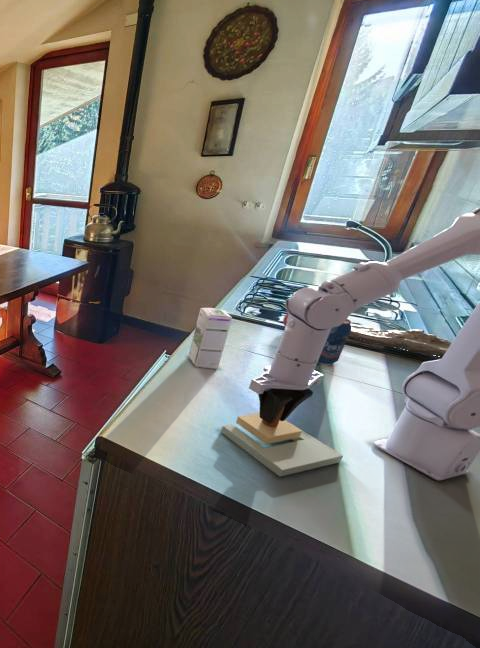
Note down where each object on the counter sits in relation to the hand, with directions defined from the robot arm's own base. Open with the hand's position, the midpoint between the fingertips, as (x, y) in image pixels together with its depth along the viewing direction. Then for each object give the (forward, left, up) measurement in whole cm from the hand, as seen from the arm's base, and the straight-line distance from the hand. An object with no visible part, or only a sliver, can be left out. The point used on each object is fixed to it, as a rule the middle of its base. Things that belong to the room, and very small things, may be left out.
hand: (271, 419), depth 73 cm
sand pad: (0, 0, -3) cm, 3 cm away
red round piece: (+37, -56, -5) cm, 68 cm away
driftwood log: (+25, -74, -5) cm, 78 cm away
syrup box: (+27, -12, -5) cm, 30 cm away
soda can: (+21, -45, -5) cm, 50 cm away
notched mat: (-3, 0, -4) cm, 5 cm away
